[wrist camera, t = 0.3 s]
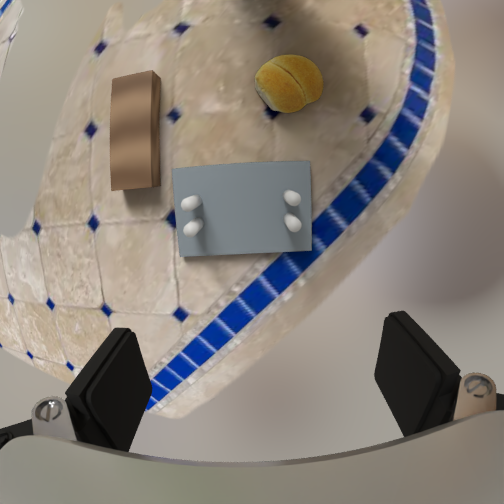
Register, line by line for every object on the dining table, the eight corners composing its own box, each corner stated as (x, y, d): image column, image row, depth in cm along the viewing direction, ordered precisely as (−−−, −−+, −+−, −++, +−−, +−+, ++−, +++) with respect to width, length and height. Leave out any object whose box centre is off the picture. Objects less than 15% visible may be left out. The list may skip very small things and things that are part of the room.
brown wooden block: (124, 86, 33) (112, 79, 29) (161, 78, 33) (152, 70, 29) (123, 188, 38) (111, 191, 34) (161, 185, 38) (151, 187, 34)
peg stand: (174, 169, 37) (159, 168, 30) (307, 161, 36) (318, 159, 30) (182, 253, 40) (170, 268, 34) (309, 247, 40) (319, 261, 33)
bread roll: (331, 92, 34) (339, 84, 30) (279, 123, 35) (283, 117, 31) (296, 48, 32) (300, 37, 28) (244, 77, 33) (243, 67, 30)
